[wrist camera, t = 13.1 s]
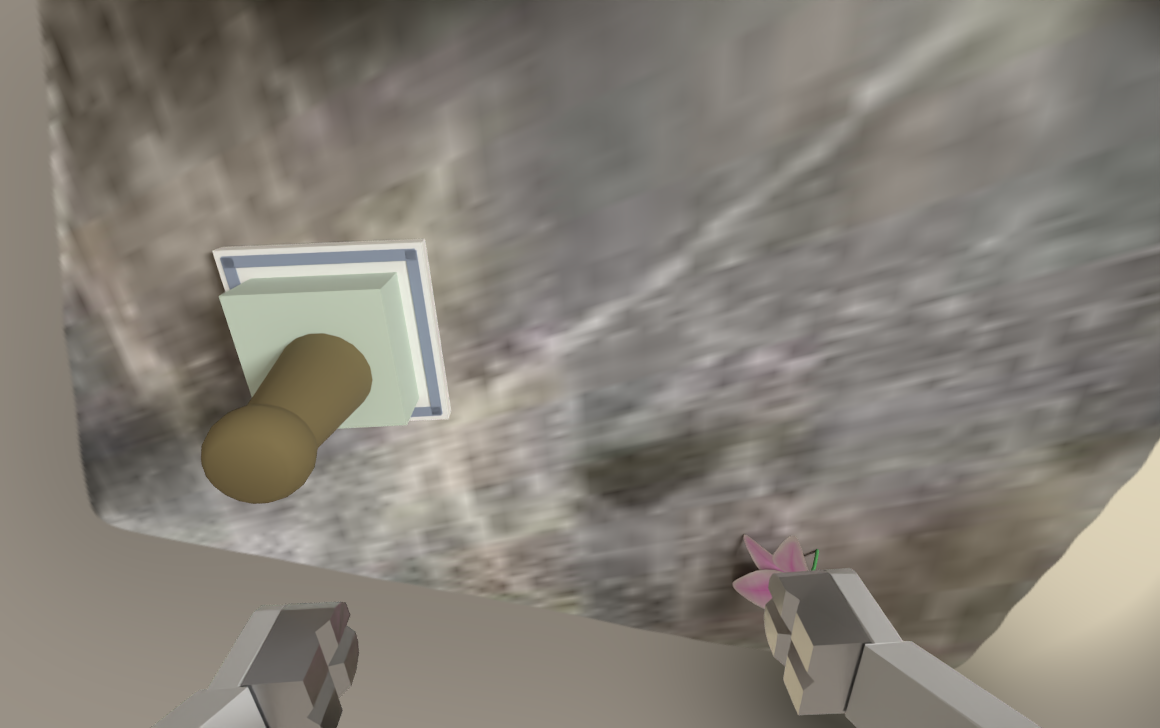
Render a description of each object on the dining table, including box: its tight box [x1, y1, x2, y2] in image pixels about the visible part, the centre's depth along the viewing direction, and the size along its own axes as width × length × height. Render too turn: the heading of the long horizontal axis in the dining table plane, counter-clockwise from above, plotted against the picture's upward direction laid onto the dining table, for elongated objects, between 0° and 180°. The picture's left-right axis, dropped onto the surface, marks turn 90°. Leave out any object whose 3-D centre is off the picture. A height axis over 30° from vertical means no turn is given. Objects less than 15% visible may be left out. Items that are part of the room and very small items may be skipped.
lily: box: [733, 534, 819, 609], centre depth 49 cm, size 12×12×10 cm
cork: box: [201, 333, 373, 504], centre depth 31 cm, size 6×6×11 cm
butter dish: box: [212, 239, 451, 429], centre depth 38 cm, size 14×14×5 cm
